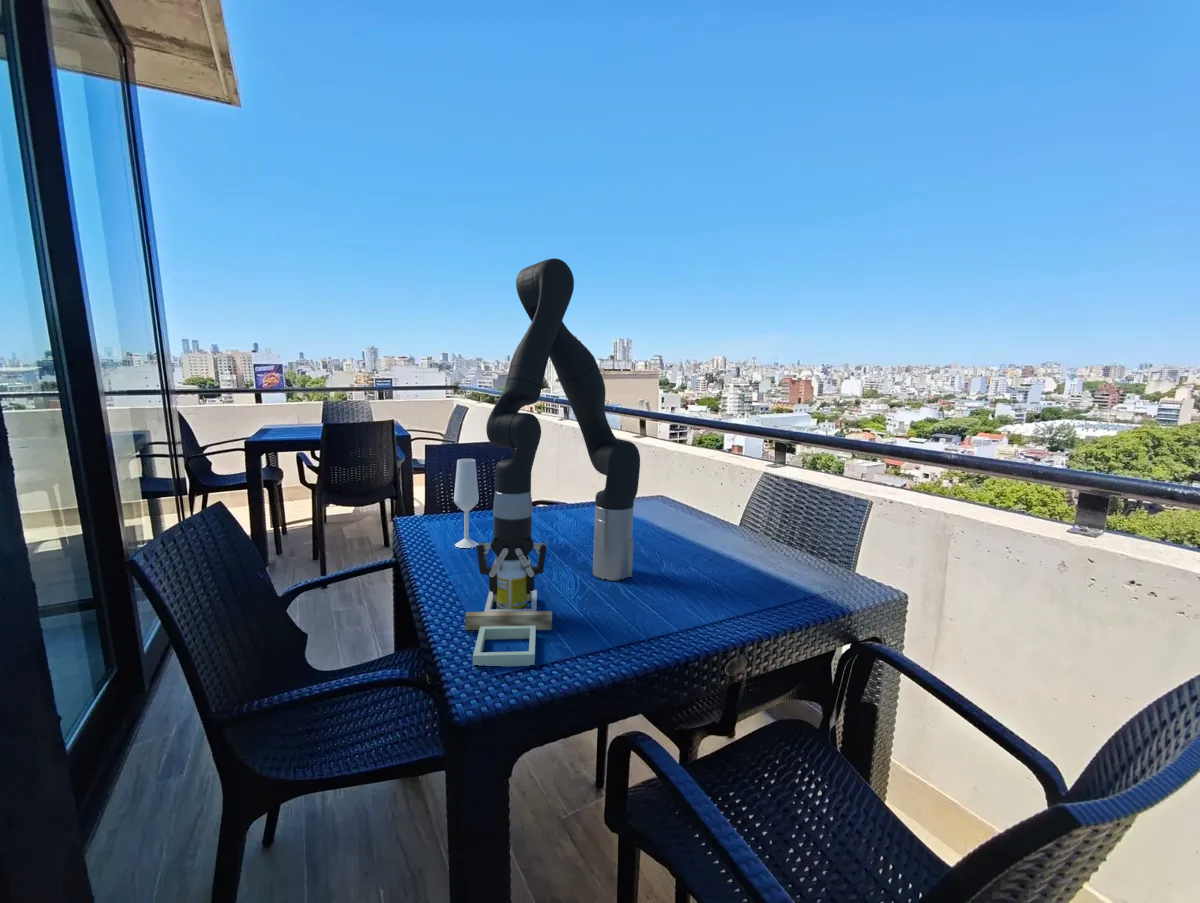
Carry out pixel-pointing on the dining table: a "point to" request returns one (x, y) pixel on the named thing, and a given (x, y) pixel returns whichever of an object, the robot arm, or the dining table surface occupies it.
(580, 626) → the dining table surface
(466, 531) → the champagne flute
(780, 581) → the dining table surface
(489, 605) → the keeper
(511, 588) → the pill bottle
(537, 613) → the edge strip
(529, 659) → the keeper
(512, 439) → the robot arm
